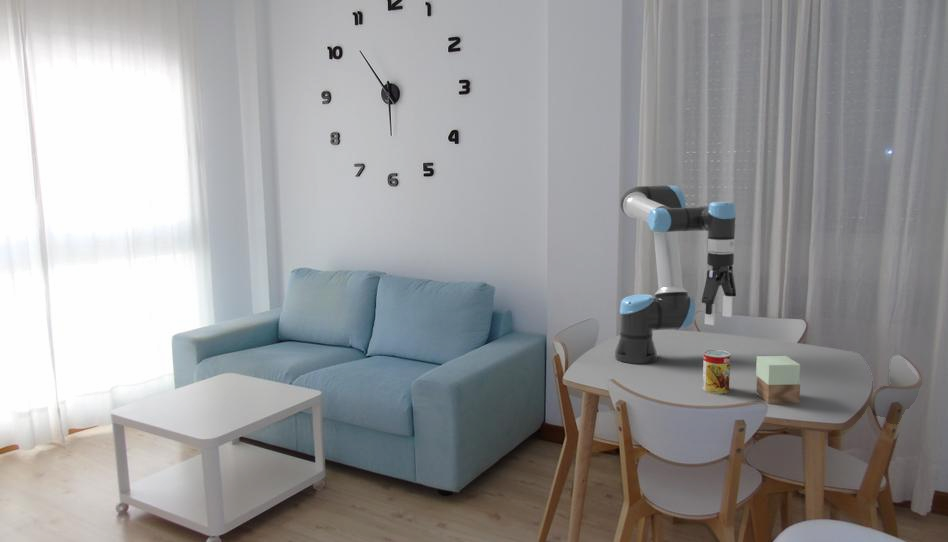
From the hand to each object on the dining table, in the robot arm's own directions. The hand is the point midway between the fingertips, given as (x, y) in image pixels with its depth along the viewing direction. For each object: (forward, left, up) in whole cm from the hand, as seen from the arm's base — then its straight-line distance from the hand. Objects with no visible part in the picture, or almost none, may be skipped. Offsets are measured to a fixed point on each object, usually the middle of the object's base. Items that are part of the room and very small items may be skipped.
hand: (718, 320), depth 200 cm
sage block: (+17, -5, -17) cm, 24 cm away
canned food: (0, 0, -23) cm, 23 cm away
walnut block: (+17, -5, -23) cm, 29 cm away
